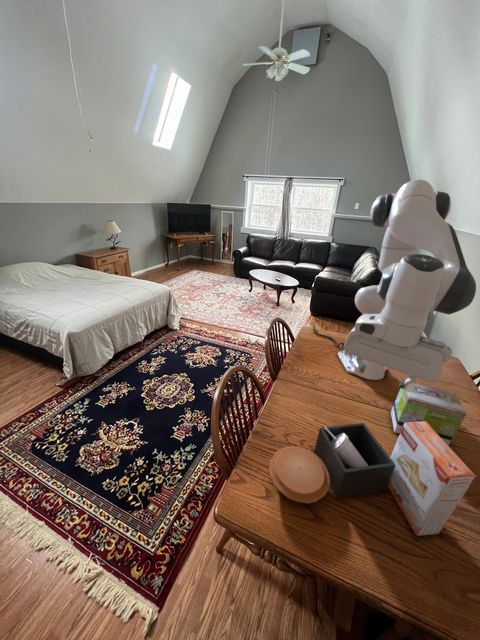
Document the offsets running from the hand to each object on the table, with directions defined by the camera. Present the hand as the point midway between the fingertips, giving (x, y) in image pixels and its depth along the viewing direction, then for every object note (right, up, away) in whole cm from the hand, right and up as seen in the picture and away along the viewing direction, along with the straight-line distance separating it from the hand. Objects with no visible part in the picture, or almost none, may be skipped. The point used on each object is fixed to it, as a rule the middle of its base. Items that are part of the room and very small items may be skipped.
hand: (380, 379), depth 66 cm
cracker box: (+7, -32, +1) cm, 32 cm away
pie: (-19, -28, +5) cm, 35 cm away
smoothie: (-2, -26, +6) cm, 26 cm away
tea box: (+24, -22, +23) cm, 40 cm away
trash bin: (-5, -27, +9) cm, 29 cm away
